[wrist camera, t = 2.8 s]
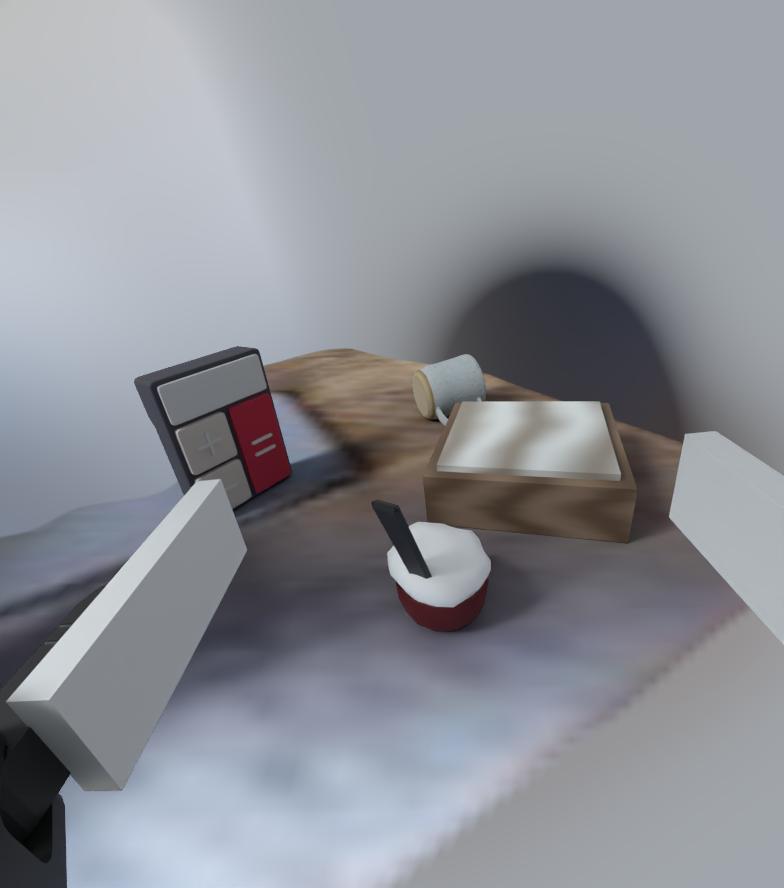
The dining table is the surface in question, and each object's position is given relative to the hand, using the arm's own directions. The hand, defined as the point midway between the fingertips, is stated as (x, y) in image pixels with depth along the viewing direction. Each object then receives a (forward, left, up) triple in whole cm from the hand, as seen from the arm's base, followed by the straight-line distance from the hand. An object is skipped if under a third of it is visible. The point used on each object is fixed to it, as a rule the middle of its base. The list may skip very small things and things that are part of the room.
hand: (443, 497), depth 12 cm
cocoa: (-3, +10, -17) cm, 20 cm away
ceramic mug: (-8, +42, -17) cm, 46 cm away
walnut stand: (+2, +27, -17) cm, 32 cm away
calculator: (-27, +21, -17) cm, 38 cm away
